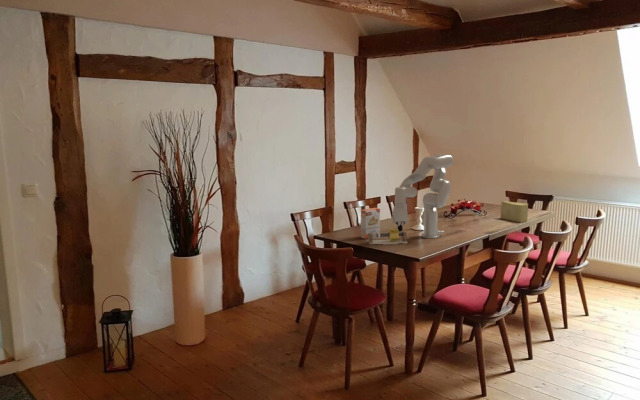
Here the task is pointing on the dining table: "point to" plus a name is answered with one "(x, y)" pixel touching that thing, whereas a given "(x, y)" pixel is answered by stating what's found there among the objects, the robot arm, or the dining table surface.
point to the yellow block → (393, 234)
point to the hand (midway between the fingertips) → (400, 231)
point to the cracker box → (370, 221)
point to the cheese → (514, 211)
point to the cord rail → (374, 235)
